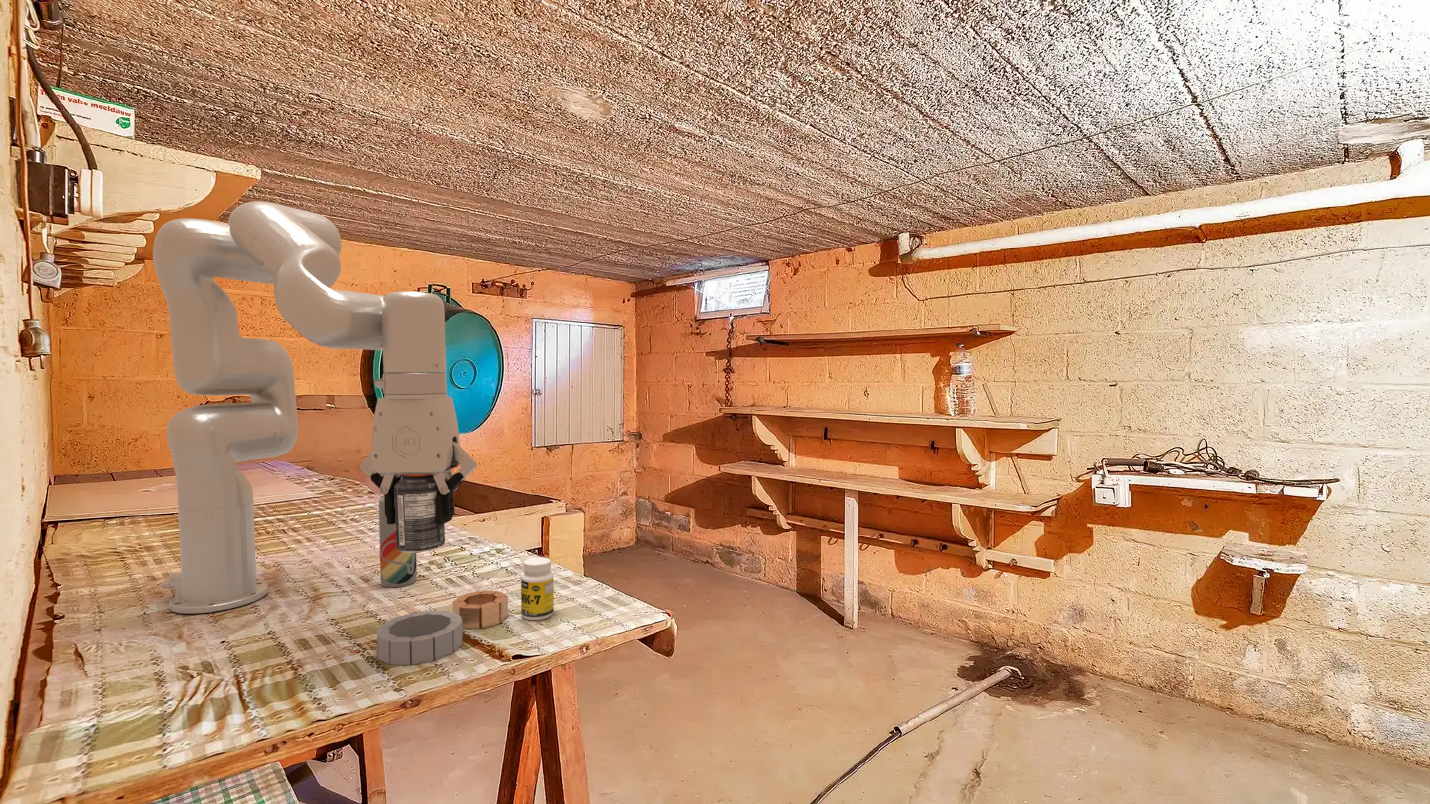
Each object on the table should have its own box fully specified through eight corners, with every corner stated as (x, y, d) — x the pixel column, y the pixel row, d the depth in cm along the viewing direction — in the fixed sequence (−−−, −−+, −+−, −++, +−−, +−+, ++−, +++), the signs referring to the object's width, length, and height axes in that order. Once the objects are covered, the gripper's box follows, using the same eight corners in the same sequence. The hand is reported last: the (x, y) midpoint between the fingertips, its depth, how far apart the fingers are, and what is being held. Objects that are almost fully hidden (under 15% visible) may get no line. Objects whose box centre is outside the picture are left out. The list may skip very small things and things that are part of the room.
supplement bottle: (514, 618, 96) (514, 563, 96) (533, 607, 101) (533, 555, 100) (541, 623, 94) (541, 567, 94) (559, 611, 99) (559, 558, 98)
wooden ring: (445, 628, 92) (445, 607, 92) (467, 609, 100) (467, 590, 100) (495, 629, 92) (494, 609, 92) (513, 610, 99) (513, 591, 99)
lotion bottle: (402, 589, 109) (399, 472, 108) (373, 587, 110) (370, 471, 109) (423, 578, 114) (421, 467, 113) (395, 576, 115) (393, 466, 114)
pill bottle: (413, 540, 89) (411, 459, 88) (453, 542, 88) (451, 460, 87) (386, 553, 83) (383, 466, 82) (428, 554, 82) (426, 466, 81)
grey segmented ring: (360, 663, 81) (360, 640, 81) (404, 630, 92) (403, 610, 91) (439, 665, 81) (439, 642, 81) (474, 632, 91) (474, 611, 91)
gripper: (334, 388, 81) (339, 529, 82) (467, 387, 80) (471, 529, 81) (369, 386, 88) (373, 515, 89) (491, 385, 88) (494, 516, 88)
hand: (420, 521), depth 85 cm, fingers closed on pill bottle, 6 cm apart
